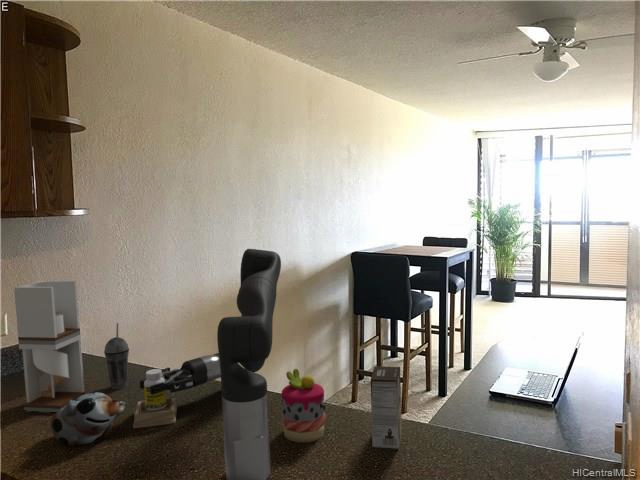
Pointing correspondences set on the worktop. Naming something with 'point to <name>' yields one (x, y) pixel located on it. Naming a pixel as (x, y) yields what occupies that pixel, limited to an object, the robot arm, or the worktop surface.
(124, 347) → the beverage cup
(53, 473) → the worktop surface
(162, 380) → the supplement bottle
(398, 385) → the coffee box
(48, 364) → the white shelf stand
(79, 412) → the lucky cat figurine
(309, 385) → the cake
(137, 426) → the birch dock
